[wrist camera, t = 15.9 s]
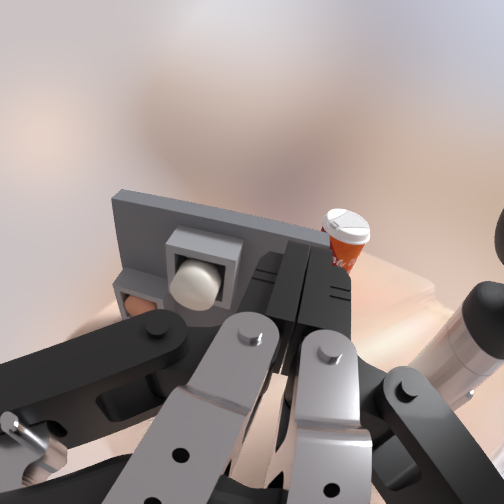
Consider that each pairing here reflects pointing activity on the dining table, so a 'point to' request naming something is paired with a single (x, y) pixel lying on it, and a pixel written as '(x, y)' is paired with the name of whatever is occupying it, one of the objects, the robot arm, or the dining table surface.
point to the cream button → (196, 284)
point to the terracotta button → (138, 305)
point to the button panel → (193, 250)
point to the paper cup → (345, 236)
